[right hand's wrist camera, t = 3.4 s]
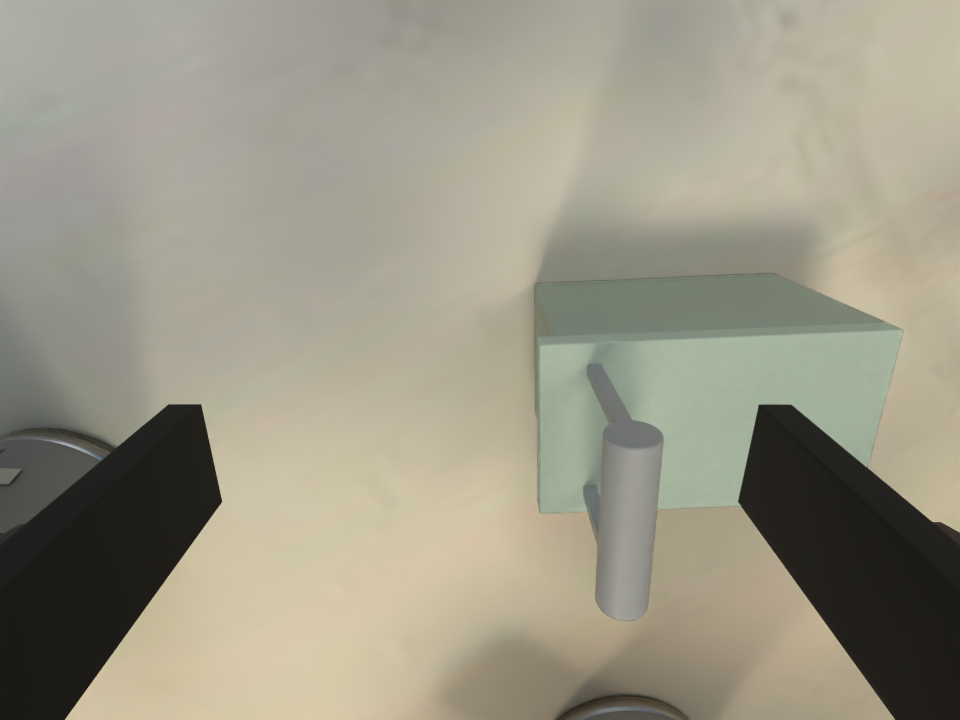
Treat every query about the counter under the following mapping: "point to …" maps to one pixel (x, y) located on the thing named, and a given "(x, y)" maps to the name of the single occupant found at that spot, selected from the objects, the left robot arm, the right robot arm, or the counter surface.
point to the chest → (682, 306)
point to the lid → (687, 424)
